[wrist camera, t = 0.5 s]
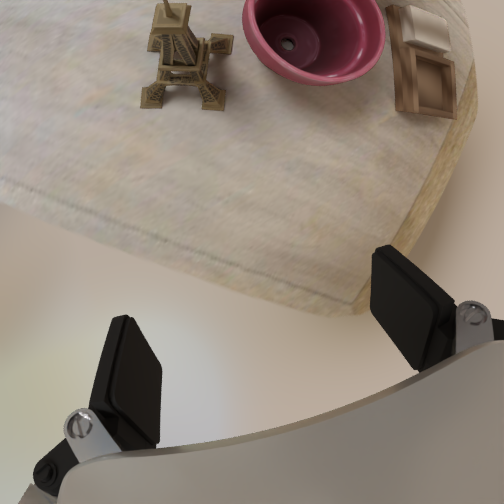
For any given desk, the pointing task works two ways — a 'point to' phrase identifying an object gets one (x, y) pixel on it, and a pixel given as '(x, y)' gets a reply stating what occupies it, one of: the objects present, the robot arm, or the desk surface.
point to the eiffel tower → (182, 56)
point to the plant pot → (316, 38)
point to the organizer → (421, 62)
